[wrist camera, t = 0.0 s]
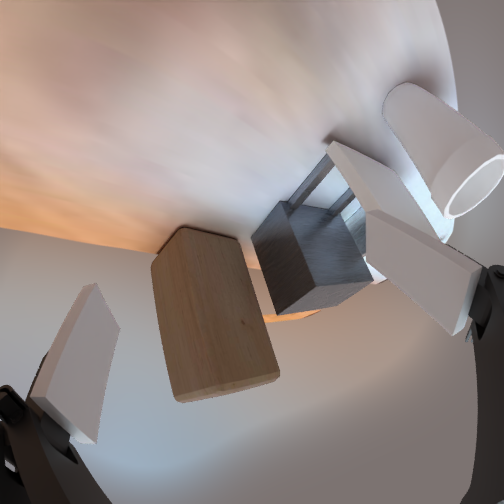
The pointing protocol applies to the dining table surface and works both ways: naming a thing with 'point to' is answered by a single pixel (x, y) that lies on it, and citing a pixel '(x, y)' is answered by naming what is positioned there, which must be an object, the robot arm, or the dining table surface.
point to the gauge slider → (378, 187)
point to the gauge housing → (312, 250)
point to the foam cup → (444, 149)
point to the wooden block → (210, 318)
